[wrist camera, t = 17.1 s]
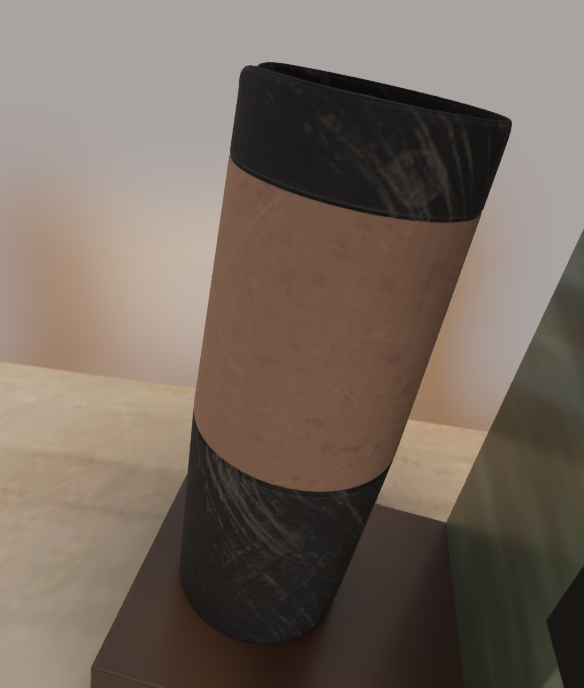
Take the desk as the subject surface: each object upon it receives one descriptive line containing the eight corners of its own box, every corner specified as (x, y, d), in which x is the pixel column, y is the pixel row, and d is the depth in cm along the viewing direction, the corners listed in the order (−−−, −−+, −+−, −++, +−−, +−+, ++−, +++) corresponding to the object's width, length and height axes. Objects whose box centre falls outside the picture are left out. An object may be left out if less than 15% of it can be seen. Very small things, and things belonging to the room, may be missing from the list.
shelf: (451, 551, 30) (783, -121, 16) (482, 813, 20) (1508, -452, 6) (192, 482, 31) (290, -219, 17) (89, 698, 21) (121, -672, 6)
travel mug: (376, 593, 25) (570, 131, 15) (237, 692, 20) (391, 107, 10) (273, 484, 29) (371, 78, 20) (141, 543, 25) (184, 45, 15)
